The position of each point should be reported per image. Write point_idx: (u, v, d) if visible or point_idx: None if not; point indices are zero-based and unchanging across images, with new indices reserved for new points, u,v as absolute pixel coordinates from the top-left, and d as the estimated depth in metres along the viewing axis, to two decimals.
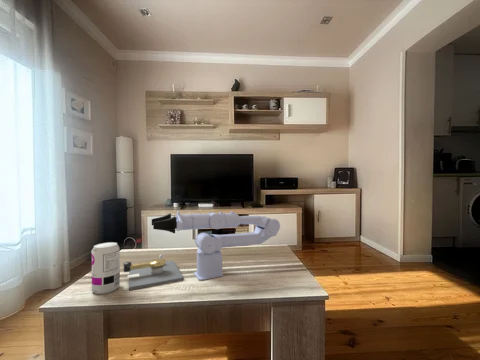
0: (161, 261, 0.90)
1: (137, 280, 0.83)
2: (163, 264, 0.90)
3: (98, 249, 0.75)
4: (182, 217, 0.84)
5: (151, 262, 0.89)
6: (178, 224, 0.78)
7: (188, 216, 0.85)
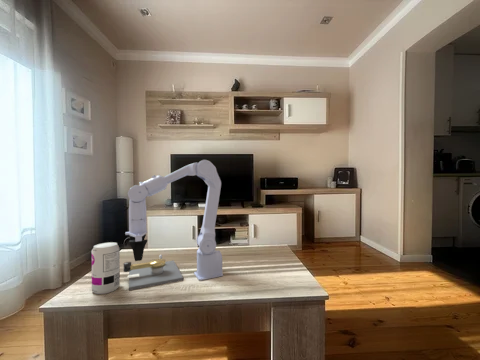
0: (161, 261, 0.90)
1: (137, 280, 0.83)
2: (163, 264, 0.90)
3: (98, 249, 0.75)
4: (131, 230, 0.80)
5: (151, 262, 0.89)
6: (136, 240, 0.76)
7: (130, 224, 0.80)
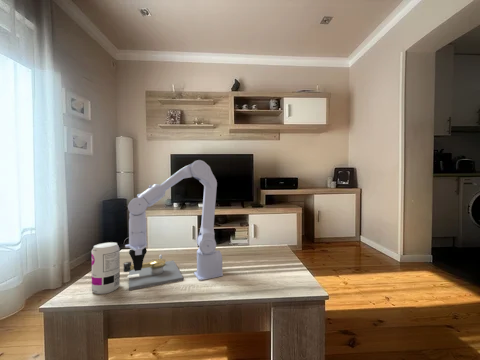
0: (161, 261, 0.90)
1: (137, 280, 0.83)
2: (163, 264, 0.90)
3: (98, 249, 0.75)
4: (131, 243, 0.80)
5: (151, 262, 0.89)
6: (136, 254, 0.76)
7: (130, 237, 0.80)
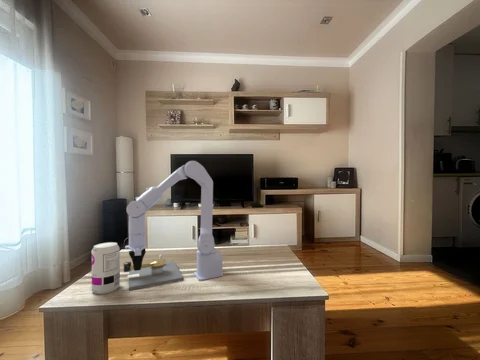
0: (161, 261, 0.90)
1: (137, 280, 0.83)
2: (163, 264, 0.90)
3: (98, 249, 0.75)
4: (131, 244, 0.84)
5: (151, 262, 0.89)
6: (136, 254, 0.79)
7: (130, 238, 0.84)
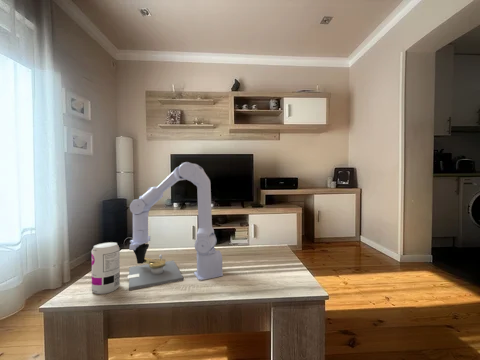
0: (157, 262, 0.89)
1: (137, 280, 0.83)
2: (156, 266, 0.88)
3: (98, 249, 0.75)
4: (133, 239, 0.91)
5: (153, 260, 0.92)
6: (130, 249, 0.86)
7: (133, 233, 0.92)
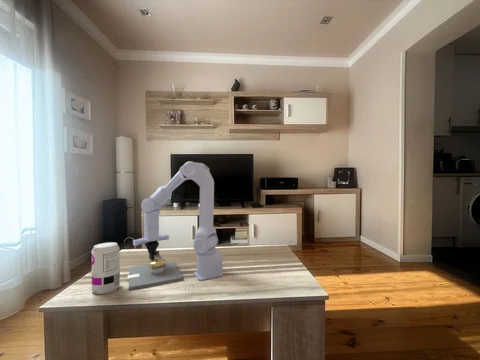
0: (154, 262, 0.89)
1: (137, 280, 0.83)
2: (151, 266, 0.88)
3: (98, 249, 0.75)
4: None
5: (156, 259, 0.93)
6: (133, 244, 0.93)
7: None
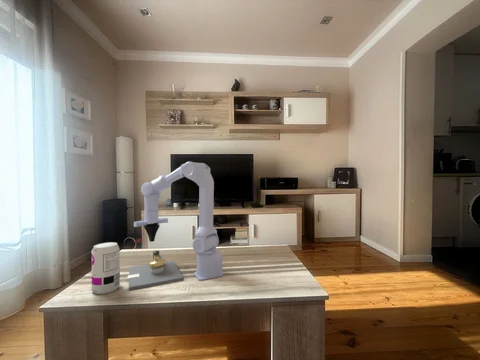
0: (154, 262, 0.89)
1: (137, 280, 0.83)
2: (151, 266, 0.88)
3: (98, 249, 0.75)
4: None
5: (156, 259, 0.93)
6: (134, 225, 0.97)
7: None
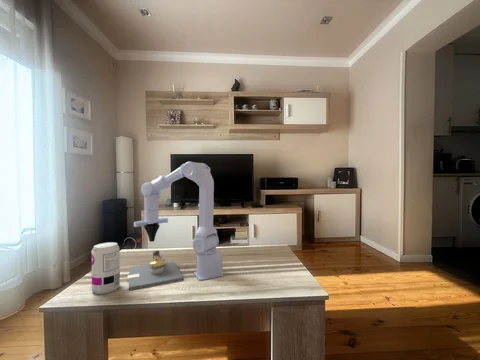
0: (154, 262, 0.89)
1: (137, 280, 0.83)
2: (151, 266, 0.88)
3: (98, 249, 0.75)
4: None
5: (156, 259, 0.93)
6: (134, 225, 0.97)
7: None
